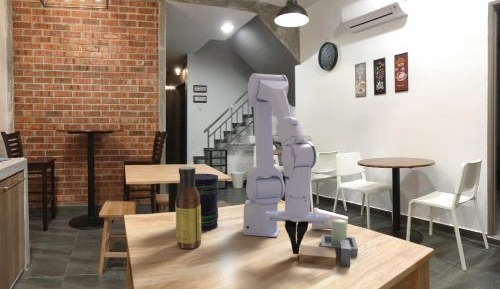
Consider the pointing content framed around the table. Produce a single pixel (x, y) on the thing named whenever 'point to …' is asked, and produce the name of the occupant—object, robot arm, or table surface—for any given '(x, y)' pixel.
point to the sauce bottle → (188, 210)
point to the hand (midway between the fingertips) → (295, 252)
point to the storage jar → (208, 200)
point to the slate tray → (327, 243)
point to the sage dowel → (338, 231)
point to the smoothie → (331, 217)
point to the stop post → (345, 253)
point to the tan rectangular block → (317, 255)
